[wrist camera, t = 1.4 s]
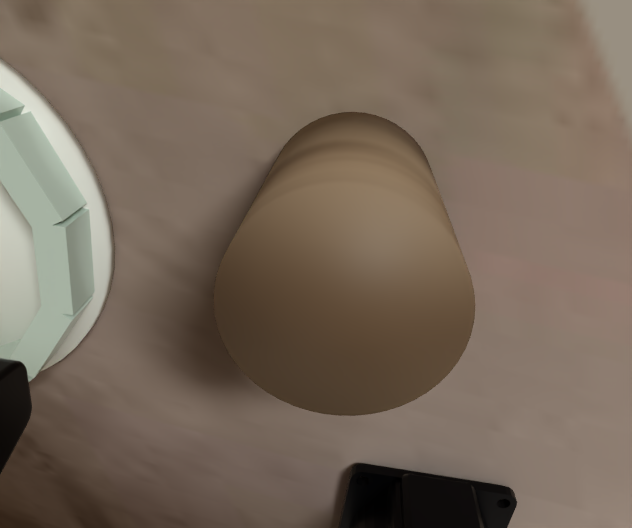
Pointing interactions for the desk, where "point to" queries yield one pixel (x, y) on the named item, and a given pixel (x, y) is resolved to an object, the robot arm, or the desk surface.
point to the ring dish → (47, 231)
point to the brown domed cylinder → (346, 273)
